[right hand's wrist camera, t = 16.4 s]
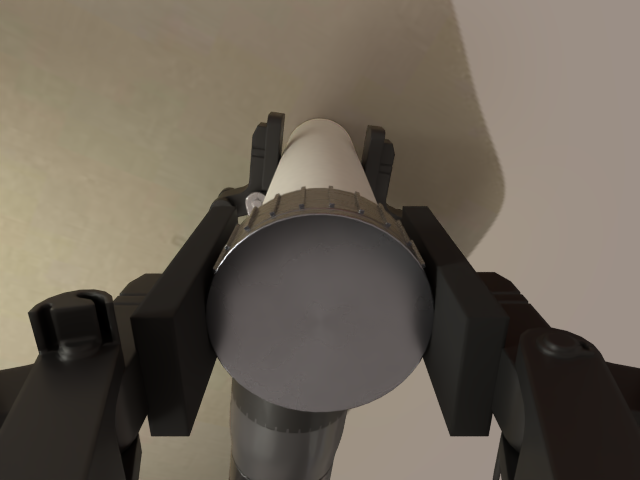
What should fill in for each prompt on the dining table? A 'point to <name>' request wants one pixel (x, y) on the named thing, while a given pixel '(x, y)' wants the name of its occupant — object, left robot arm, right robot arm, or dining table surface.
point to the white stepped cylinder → (319, 161)
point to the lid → (319, 301)
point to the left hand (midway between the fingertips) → (326, 122)
